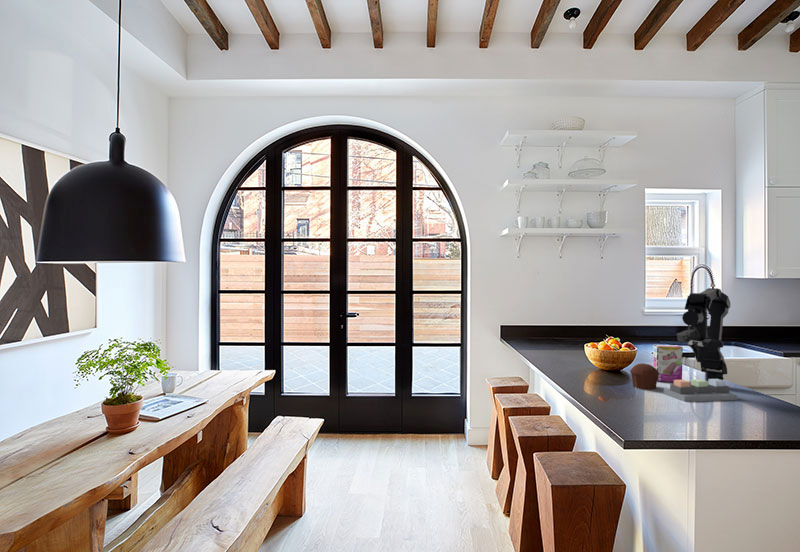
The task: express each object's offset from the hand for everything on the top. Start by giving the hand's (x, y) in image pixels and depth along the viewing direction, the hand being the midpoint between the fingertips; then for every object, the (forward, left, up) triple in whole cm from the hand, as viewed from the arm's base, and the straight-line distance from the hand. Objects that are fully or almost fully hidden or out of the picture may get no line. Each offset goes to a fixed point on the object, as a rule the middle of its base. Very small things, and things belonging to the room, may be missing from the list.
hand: (698, 362), depth 190 cm
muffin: (-13, -15, -13) cm, 24 cm away
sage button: (+4, -3, -9) cm, 11 cm away
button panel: (+4, -3, -13) cm, 14 cm away
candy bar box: (-23, +3, -13) cm, 27 cm away
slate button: (+4, +5, -9) cm, 11 cm away
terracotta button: (+4, -10, -9) cm, 15 cm away
